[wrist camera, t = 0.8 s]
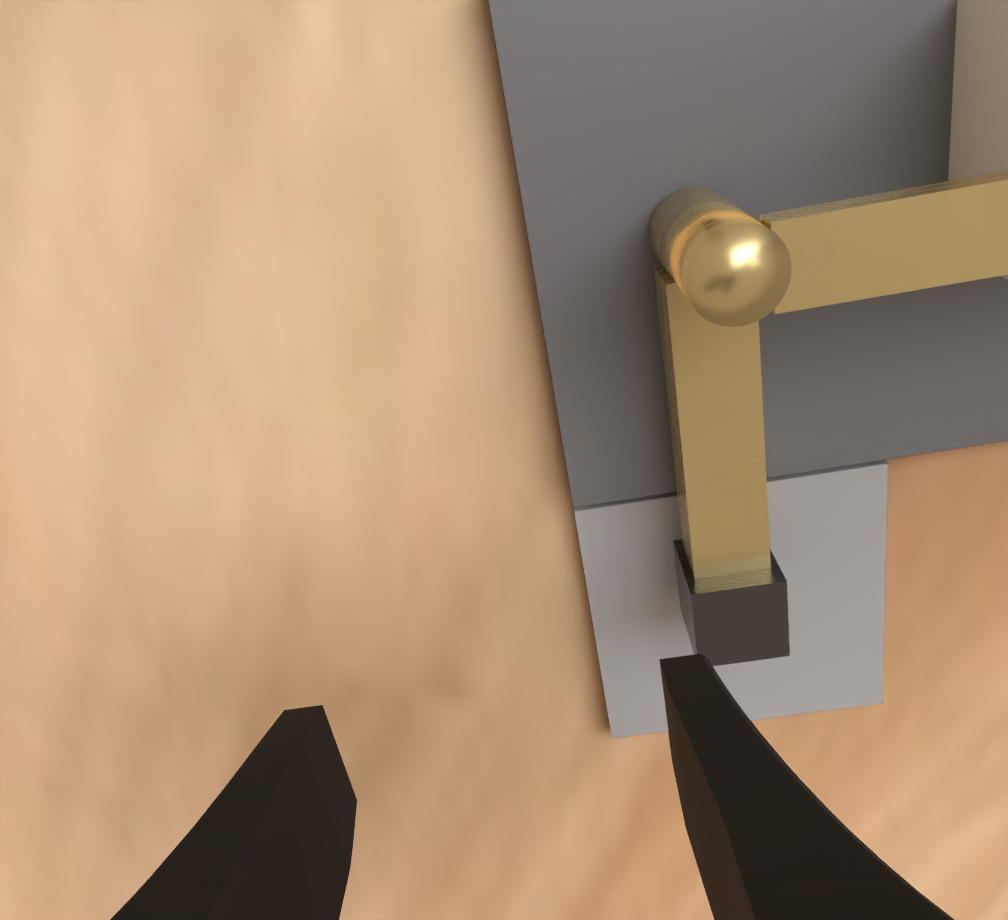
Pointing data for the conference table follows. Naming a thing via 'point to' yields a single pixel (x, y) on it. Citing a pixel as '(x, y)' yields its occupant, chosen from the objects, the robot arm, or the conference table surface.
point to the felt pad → (810, 587)
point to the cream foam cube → (980, 90)
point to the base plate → (754, 189)
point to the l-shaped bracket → (737, 363)
